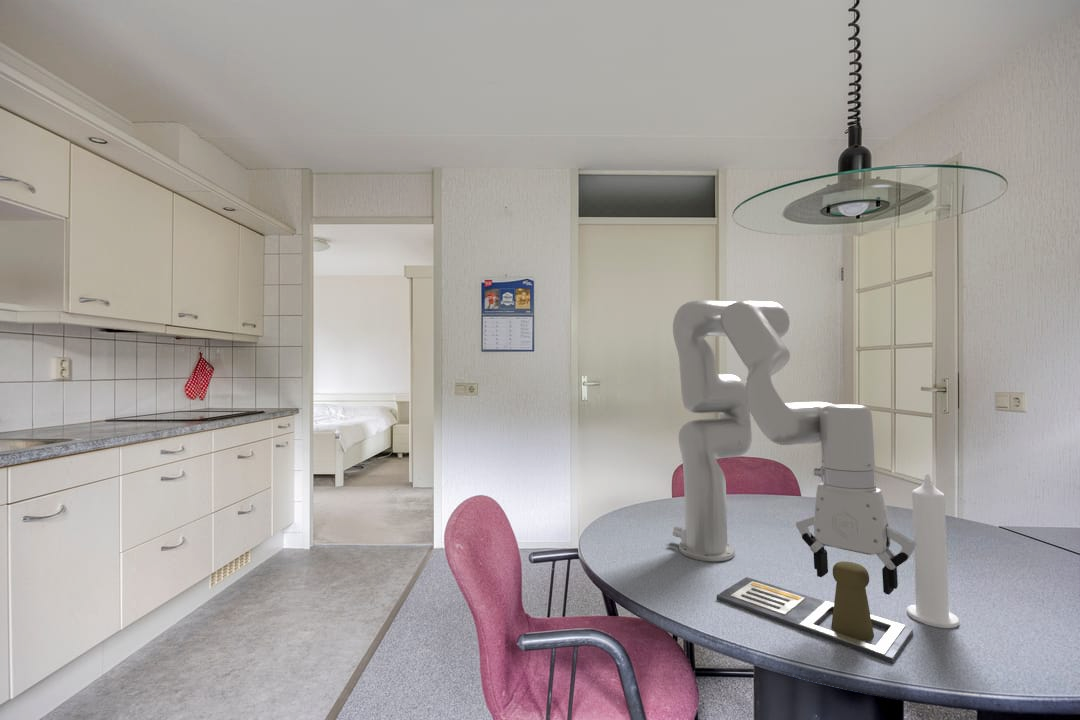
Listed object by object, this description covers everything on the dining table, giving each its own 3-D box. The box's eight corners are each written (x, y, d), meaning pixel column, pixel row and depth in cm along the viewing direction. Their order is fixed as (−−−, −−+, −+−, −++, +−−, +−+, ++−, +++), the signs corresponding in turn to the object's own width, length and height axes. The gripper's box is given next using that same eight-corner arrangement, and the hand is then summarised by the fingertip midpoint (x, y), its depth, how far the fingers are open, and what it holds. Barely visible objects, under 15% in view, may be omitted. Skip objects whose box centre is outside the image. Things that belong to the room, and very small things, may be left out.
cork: (834, 617, 86) (832, 554, 87) (876, 628, 83) (874, 562, 83) (828, 632, 82) (826, 565, 82) (872, 644, 78) (869, 574, 78)
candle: (959, 616, 86) (954, 472, 86) (958, 633, 81) (953, 479, 81) (909, 604, 91) (904, 467, 91) (904, 619, 85) (900, 474, 86)
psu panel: (716, 599, 94) (716, 593, 94) (746, 580, 102) (746, 575, 102) (892, 663, 73) (892, 656, 73) (912, 633, 81) (912, 626, 81)
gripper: (785, 475, 86) (790, 574, 86) (905, 489, 73) (912, 607, 73) (802, 469, 91) (807, 563, 91) (918, 482, 78) (924, 591, 78)
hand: (854, 582), depth 82 cm, fingers open, 9 cm apart
